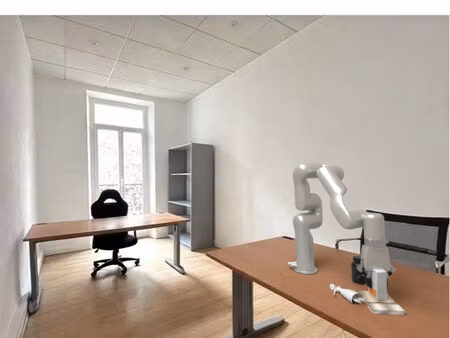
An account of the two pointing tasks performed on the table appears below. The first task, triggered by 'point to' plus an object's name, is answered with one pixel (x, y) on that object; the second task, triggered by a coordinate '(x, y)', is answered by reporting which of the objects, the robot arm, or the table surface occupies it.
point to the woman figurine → (348, 294)
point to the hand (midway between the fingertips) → (376, 286)
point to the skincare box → (378, 284)
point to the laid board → (386, 308)
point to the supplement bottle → (357, 271)
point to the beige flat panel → (371, 299)
